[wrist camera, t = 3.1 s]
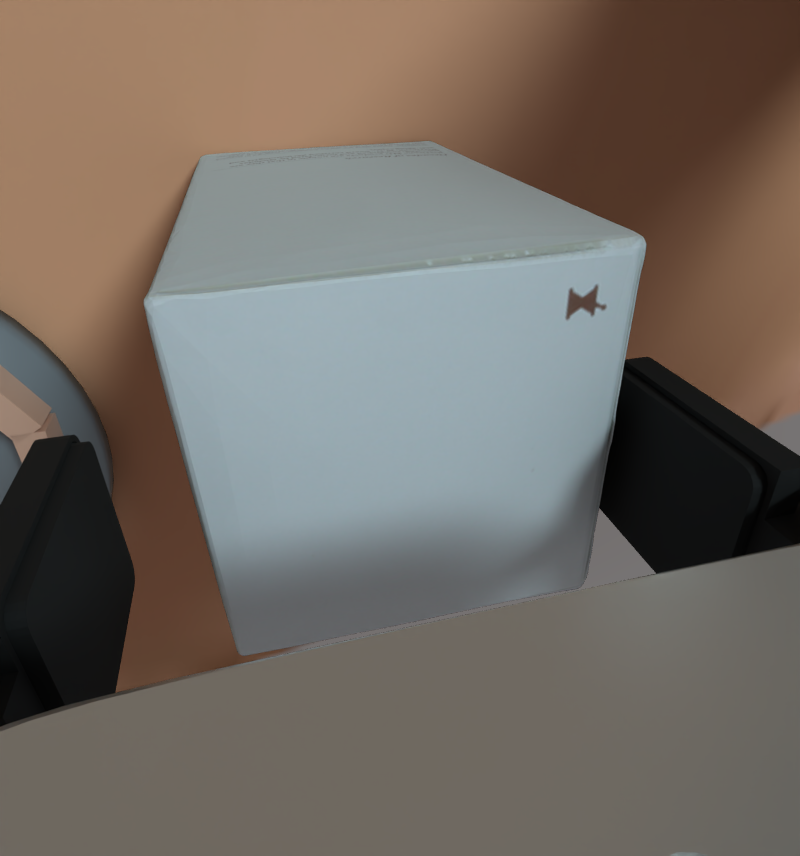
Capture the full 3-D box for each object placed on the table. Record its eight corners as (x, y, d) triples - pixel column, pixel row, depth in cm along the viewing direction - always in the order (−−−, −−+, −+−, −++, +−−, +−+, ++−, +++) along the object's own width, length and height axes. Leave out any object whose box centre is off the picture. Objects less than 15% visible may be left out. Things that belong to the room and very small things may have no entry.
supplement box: (193, 150, 18) (124, 276, 7) (435, 137, 19) (673, 229, 9) (235, 374, 22) (228, 670, 11) (434, 351, 23) (597, 596, 12)
